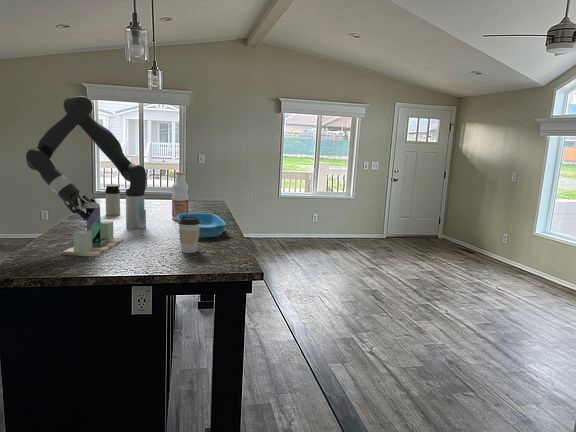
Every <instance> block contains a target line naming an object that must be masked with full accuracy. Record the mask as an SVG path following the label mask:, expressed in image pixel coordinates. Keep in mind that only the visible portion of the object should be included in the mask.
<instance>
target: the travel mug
mask: <svg viewBox="0 0 576 432" xmlns="http://www.w3.org/2000/svg"><path fill="white" fill-rule="evenodd" d="M119 187H120V184H114V183H112V184H111V183H109V184H105V188H106V189H105V215H107V216H111V217H115V216H120V215H121V190H120V189H119Z"/></svg>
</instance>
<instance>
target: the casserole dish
mask: <svg viewBox="0 0 576 432" xmlns="http://www.w3.org/2000/svg"><path fill="white" fill-rule="evenodd" d="M183 216H185V217H196V218H197V219H198V220H199V221H200V225H199V239H200V238H215V237H216V238H217V237H220V236H222V234H223V232H224V231H225V227H226V225H227V224H226V222H225V220H224V219H222V218H221V217H220V216H219V215H216V214H213V213H207V212H188V213H184V214H179V215H177V218H178V221H177V222H178V223H179V220H181V218H182V217H183Z"/></svg>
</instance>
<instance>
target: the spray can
mask: <svg viewBox="0 0 576 432" xmlns="http://www.w3.org/2000/svg"><path fill="white" fill-rule="evenodd" d="M89 200H90V202H89V203H88V204H86V209H85V213H86V214H87V215H88V216H89V218H88V219H87V220H86V230H87V231H92V242H97V243H99V242H101V241H102V240H101V221H102V220H101V206H100V205H101V204H100V203H98V202H97V201H96V199H95V198H90V199H89Z"/></svg>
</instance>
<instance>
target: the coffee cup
mask: <svg viewBox="0 0 576 432" xmlns="http://www.w3.org/2000/svg"><path fill="white" fill-rule="evenodd" d="M178 224H179V229H178V232H179V242H180V252H182V253H184V254H193V253H197V252H198V247H199V246H198V243H199V239H200V238H199V225H200V221H199V220H198V219H197V218H196V217H185V216H183V217H182V218H181V220H179V222H178Z"/></svg>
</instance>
